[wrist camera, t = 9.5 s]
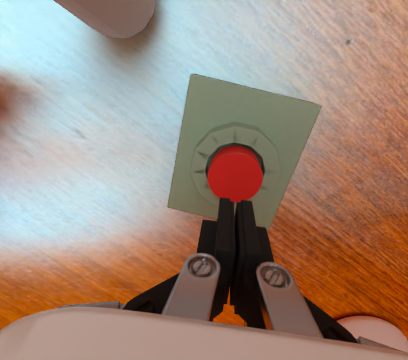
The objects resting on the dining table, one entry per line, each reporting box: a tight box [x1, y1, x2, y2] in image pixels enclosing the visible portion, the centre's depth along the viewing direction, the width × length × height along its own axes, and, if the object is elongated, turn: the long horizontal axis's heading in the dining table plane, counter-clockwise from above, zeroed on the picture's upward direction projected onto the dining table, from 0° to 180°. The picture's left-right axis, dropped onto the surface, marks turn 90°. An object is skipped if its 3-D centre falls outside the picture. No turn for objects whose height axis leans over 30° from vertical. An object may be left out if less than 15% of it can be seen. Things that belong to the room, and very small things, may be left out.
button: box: [208, 146, 263, 203], centre depth 18 cm, size 4×4×2 cm
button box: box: [168, 74, 322, 232], centre depth 20 cm, size 12×10×4 cm
